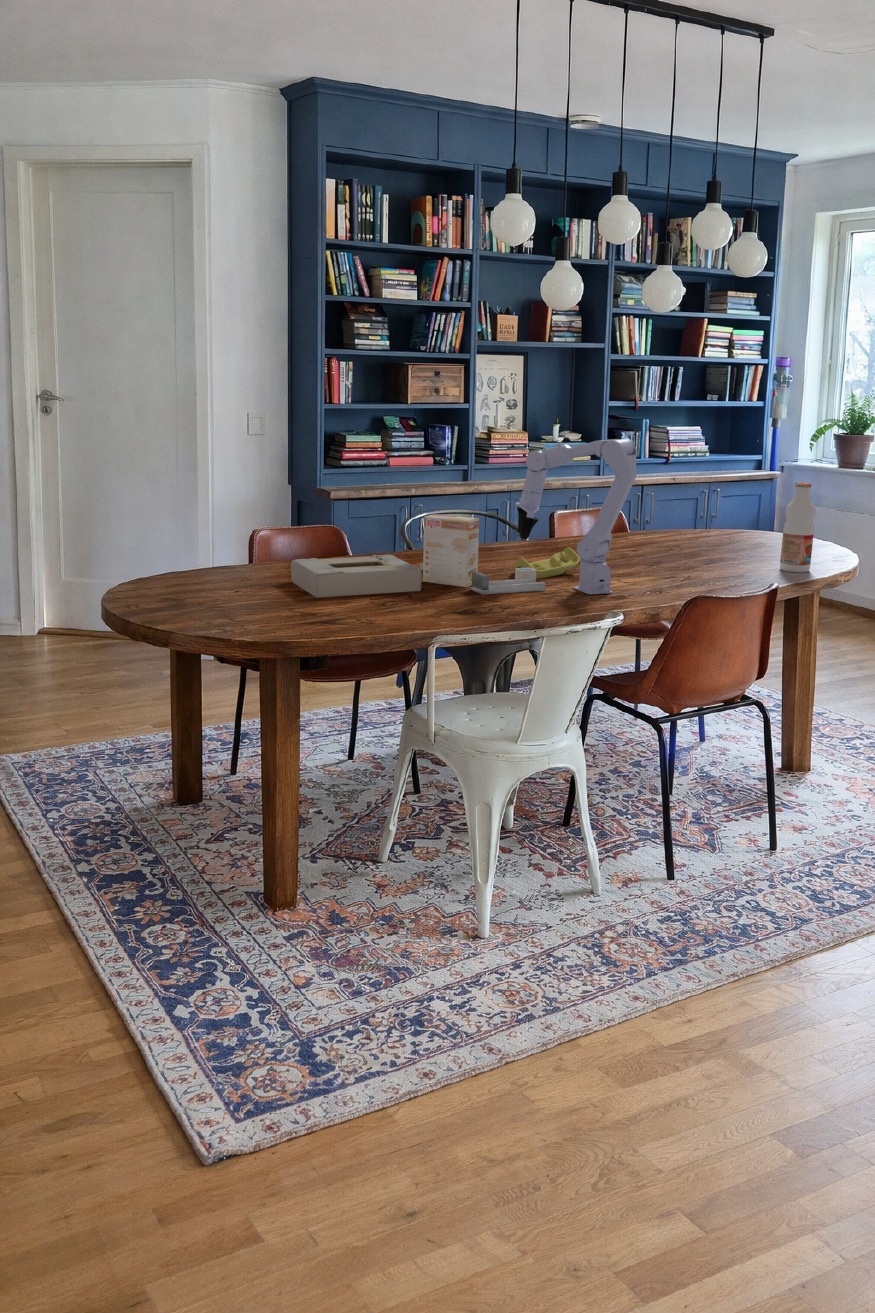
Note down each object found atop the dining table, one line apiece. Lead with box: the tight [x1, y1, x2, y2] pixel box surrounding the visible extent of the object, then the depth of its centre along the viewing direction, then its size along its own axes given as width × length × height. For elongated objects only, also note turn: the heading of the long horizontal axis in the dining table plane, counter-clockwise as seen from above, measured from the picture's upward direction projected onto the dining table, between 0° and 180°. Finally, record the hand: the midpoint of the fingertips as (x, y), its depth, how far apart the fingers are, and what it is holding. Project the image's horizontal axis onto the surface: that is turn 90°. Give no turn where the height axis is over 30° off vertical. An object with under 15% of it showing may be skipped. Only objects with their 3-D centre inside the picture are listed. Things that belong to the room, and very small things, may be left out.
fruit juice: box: [779, 481, 816, 573], centre depth 376 cm, size 9×9×28 cm
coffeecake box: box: [422, 513, 480, 588], centre depth 344 cm, size 15×7×20 cm, turn 59°
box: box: [290, 554, 423, 598], centre depth 338 cm, size 23×8×32 cm
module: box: [514, 567, 537, 580], centre depth 347 cm, size 4×5×5 cm
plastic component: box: [513, 547, 581, 580], centre depth 364 cm, size 20×7×10 cm
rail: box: [471, 571, 546, 595], centre depth 337 cm, size 7×20×5 cm, turn 113°
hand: (522, 535), depth 349 cm, fingers open, 7 cm apart
